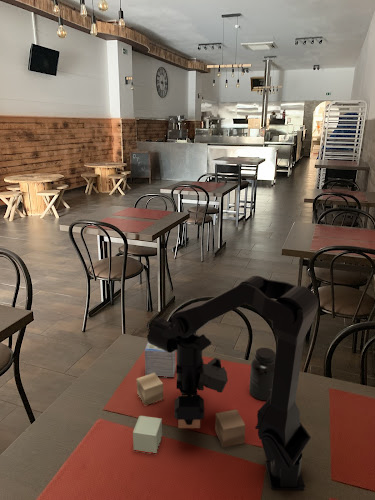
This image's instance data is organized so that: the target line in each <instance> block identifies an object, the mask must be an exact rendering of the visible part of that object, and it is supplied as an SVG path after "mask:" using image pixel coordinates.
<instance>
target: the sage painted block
mask: <svg viewBox="0 0 375 500" xmlns="http://www.w3.org/2000/svg"><path fill="white" fill-rule="evenodd" d="M162 419H163V418H158V417H151V416H146V415H139V416H138V419H137V421H136V424H135V426H134V429H133V431H132V440H133V441H132V443H133V451H134V450H139V451H145V452H153V453H158V451H157V449H158V450H159V448H158V446H159V447H160V444H159V443H161V440H162V438H161V437H163V425H162V423H163V422H162V421H163V420H162ZM145 452H144V453H145Z"/></svg>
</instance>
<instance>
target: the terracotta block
mask: <svg viewBox="0 0 375 500" xmlns="http://www.w3.org/2000/svg"><path fill="white" fill-rule="evenodd" d="M179 396H182V395H178V397H179ZM177 423H178V424H177V425H178V426H177V427H178V429H201V420H193V422H192V425H187V424H186V422H185V421H184V420H178V422H177Z"/></svg>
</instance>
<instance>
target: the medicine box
mask: <svg viewBox="0 0 375 500" xmlns="http://www.w3.org/2000/svg"><path fill="white" fill-rule="evenodd" d="M176 366H177V362H176V350H175V351H173V352H171V353H169V352H167V351H164V350H162V349H160V348H158V347H156V346H154V345H152V344H150V343H149V342H148V341H147V343H146V345H145V348H144V367H145V369H144V370H145V376H146V375H149V374H152V373H155V374H156V375H157V376H164V377H163V378H167V377H175V374H176ZM165 376H166V377H165Z"/></svg>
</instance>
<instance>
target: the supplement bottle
mask: <svg viewBox="0 0 375 500" xmlns="http://www.w3.org/2000/svg"><path fill="white" fill-rule="evenodd" d="M275 355H276V351H274V350H273V349H271V348H268V347H260V348H257V349H256V350H255V355H254V358H253V359H252V360H251V362H250V375H249V393H250V395H251V396H252V397H253V398H255V399H256V400H260V401H267V400H268V399H269V398H270V397H271V390H272V381H273V373H274V364H275Z"/></svg>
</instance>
